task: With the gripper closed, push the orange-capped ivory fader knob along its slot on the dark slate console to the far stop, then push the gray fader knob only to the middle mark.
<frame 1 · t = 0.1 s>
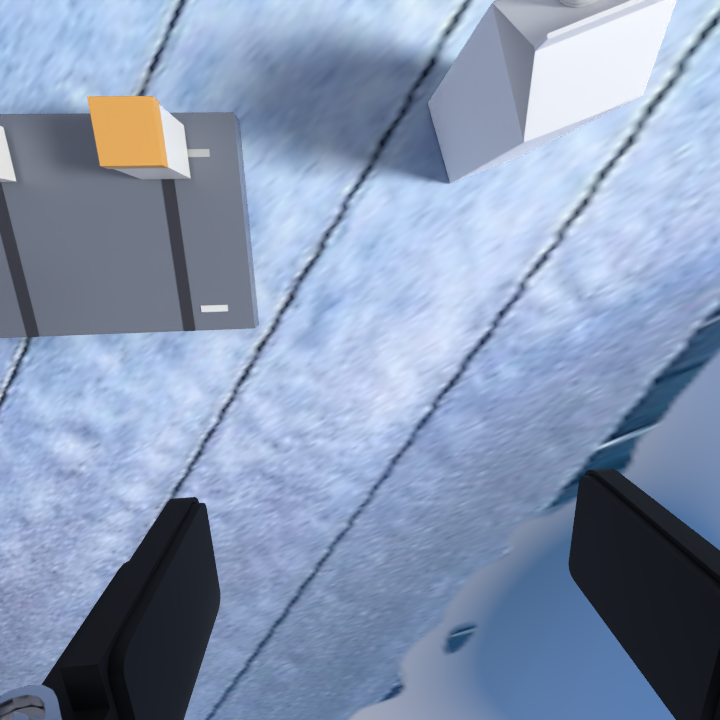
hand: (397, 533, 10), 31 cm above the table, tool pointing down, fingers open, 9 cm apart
milk carton: (474, 131, 36), on the table
fader orange: (146, 143, 30), point 5 cm above the table, slide at 0.0 cm
console: (105, 232, 36), on the table
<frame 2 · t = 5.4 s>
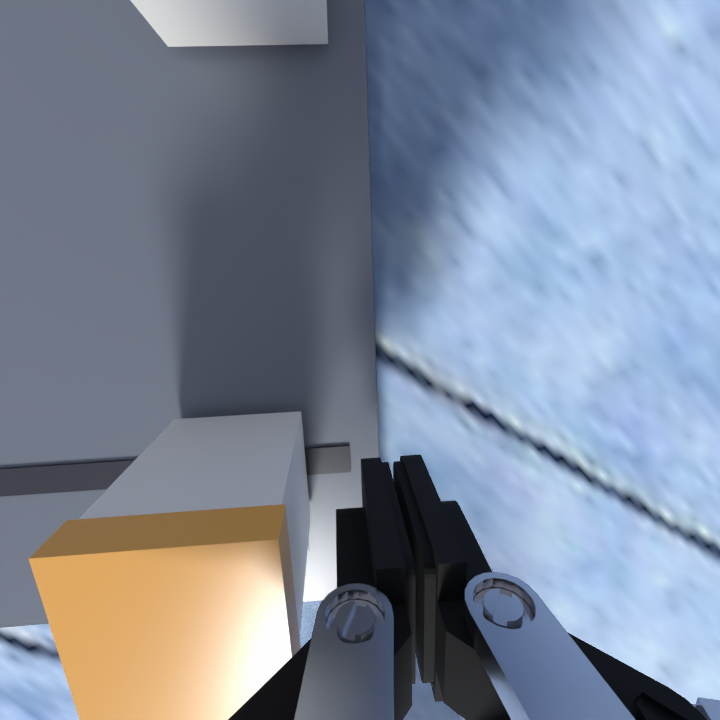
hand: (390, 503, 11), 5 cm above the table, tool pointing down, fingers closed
fader orange: (220, 532, 10), point 5 cm above the table, slide at 1.5 cm, touching gripper
console: (101, 258, 13), on the table
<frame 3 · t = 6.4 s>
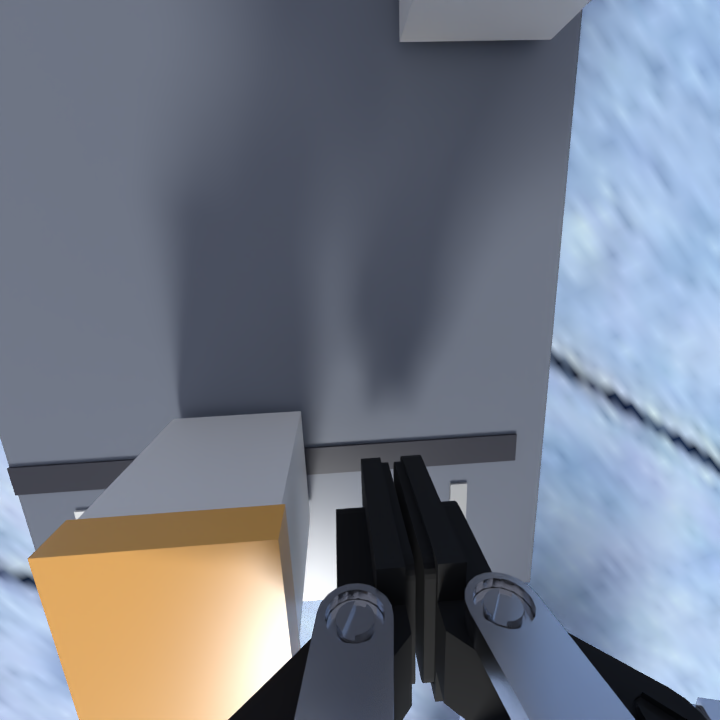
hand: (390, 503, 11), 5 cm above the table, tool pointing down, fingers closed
fader orange: (220, 532, 10), point 5 cm above the table, slide at 7.3 cm, touching gripper
console: (275, 250, 14), on the table
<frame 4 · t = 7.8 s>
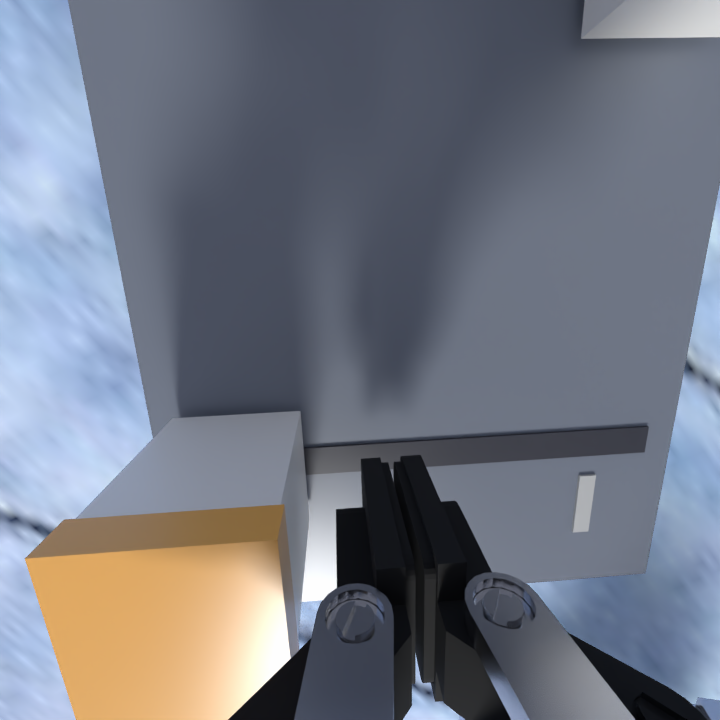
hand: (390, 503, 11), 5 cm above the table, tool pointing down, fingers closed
fader orange: (218, 532, 10), point 5 cm above the table, slide at 12.1 cm, touching gripper
console: (412, 244, 14), on the table
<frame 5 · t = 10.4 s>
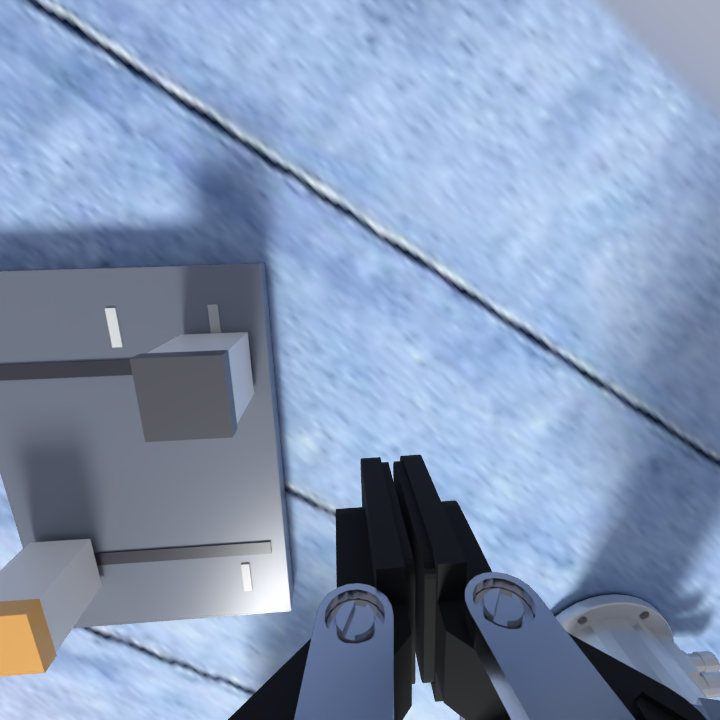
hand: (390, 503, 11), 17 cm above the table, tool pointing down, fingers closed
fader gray: (203, 379, 22), point 5 cm above the table, slide at 0.0 cm
fader orange: (35, 601, 25), point 5 cm above the table, slide at 12.1 cm
console: (154, 452, 28), on the table
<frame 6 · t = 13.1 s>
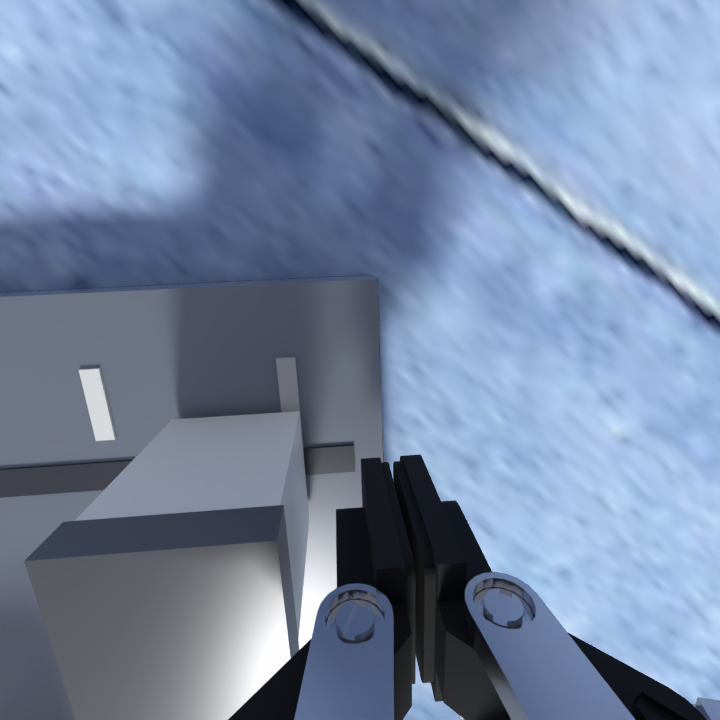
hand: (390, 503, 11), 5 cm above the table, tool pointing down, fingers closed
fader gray: (218, 533, 10), point 5 cm above the table, slide at 1.7 cm, touching gripper
console: (173, 593, 17), on the table
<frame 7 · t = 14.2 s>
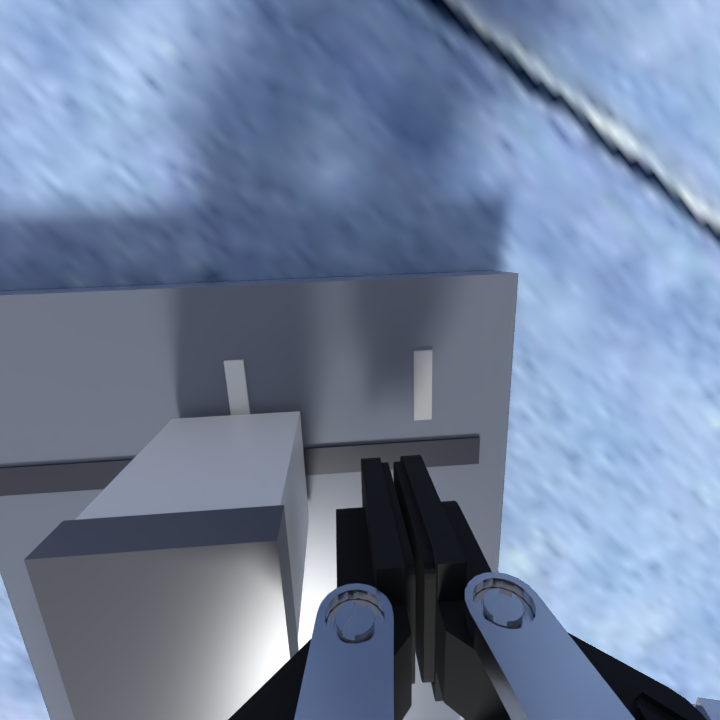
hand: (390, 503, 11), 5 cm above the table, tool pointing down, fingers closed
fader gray: (218, 533, 10), point 5 cm above the table, slide at 6.0 cm, touching gripper
console: (275, 584, 17), on the table
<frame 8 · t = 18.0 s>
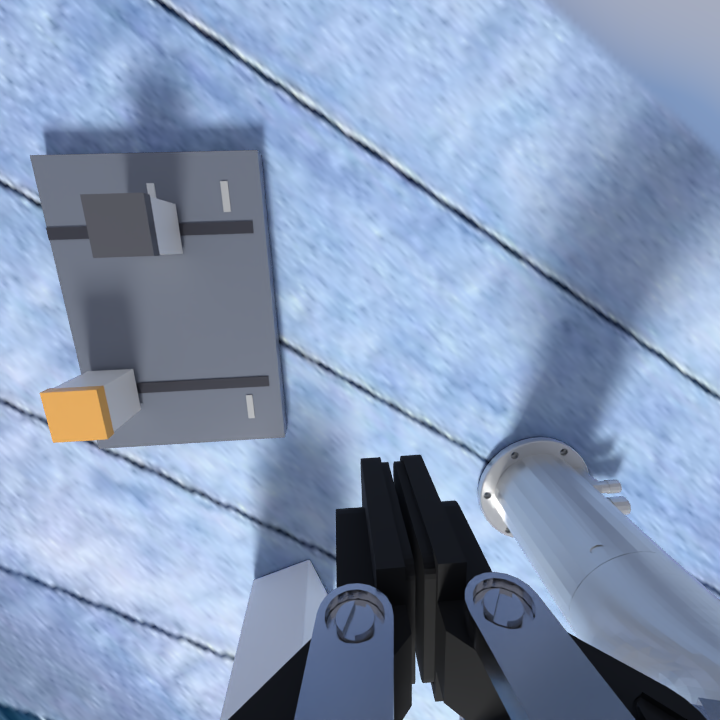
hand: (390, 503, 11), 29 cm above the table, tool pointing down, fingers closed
milk carton: (293, 589, 47), on the table
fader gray: (138, 228, 30), point 5 cm above the table, slide at 6.1 cm
fader orange: (96, 402, 34), point 5 cm above the table, slide at 12.1 cm
console: (179, 308, 38), on the table
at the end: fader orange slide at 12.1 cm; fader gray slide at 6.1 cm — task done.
